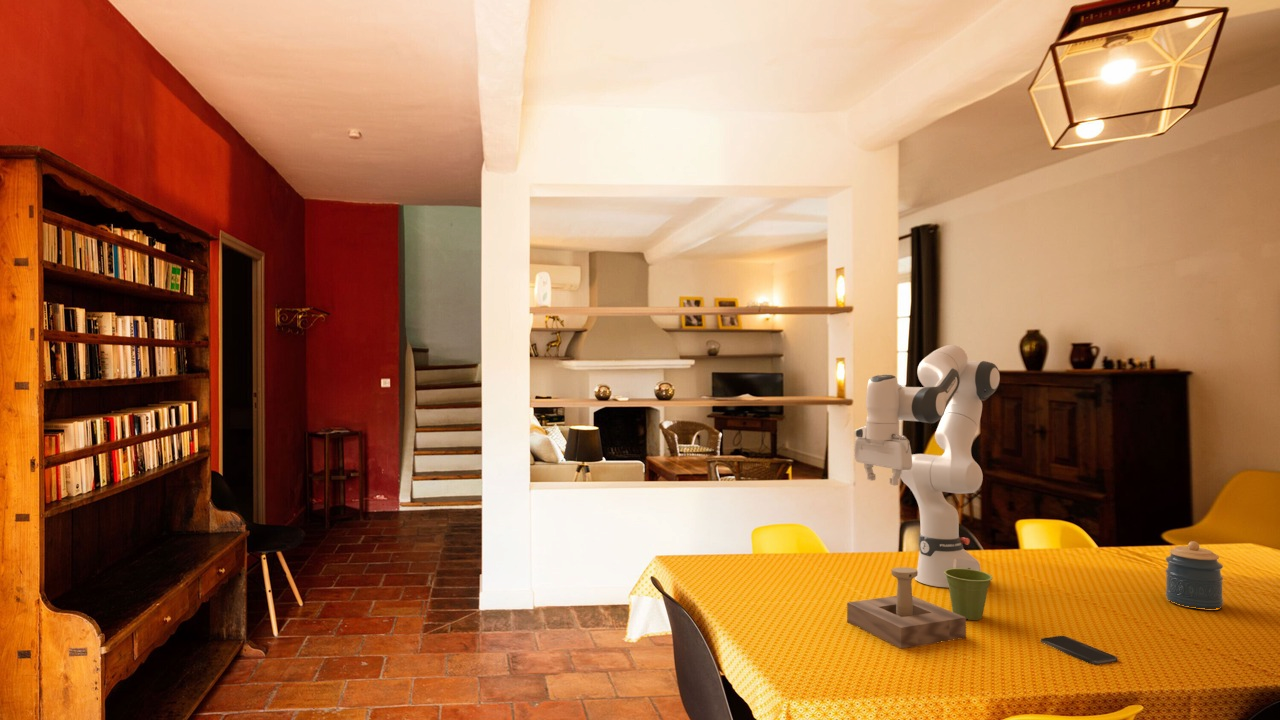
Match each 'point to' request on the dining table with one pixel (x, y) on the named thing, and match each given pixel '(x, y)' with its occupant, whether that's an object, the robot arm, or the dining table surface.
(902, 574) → the handle
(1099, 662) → the phone
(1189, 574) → the canister
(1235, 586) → the dining table surface
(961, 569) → the plant pot
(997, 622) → the dining table surface
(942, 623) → the socket block
